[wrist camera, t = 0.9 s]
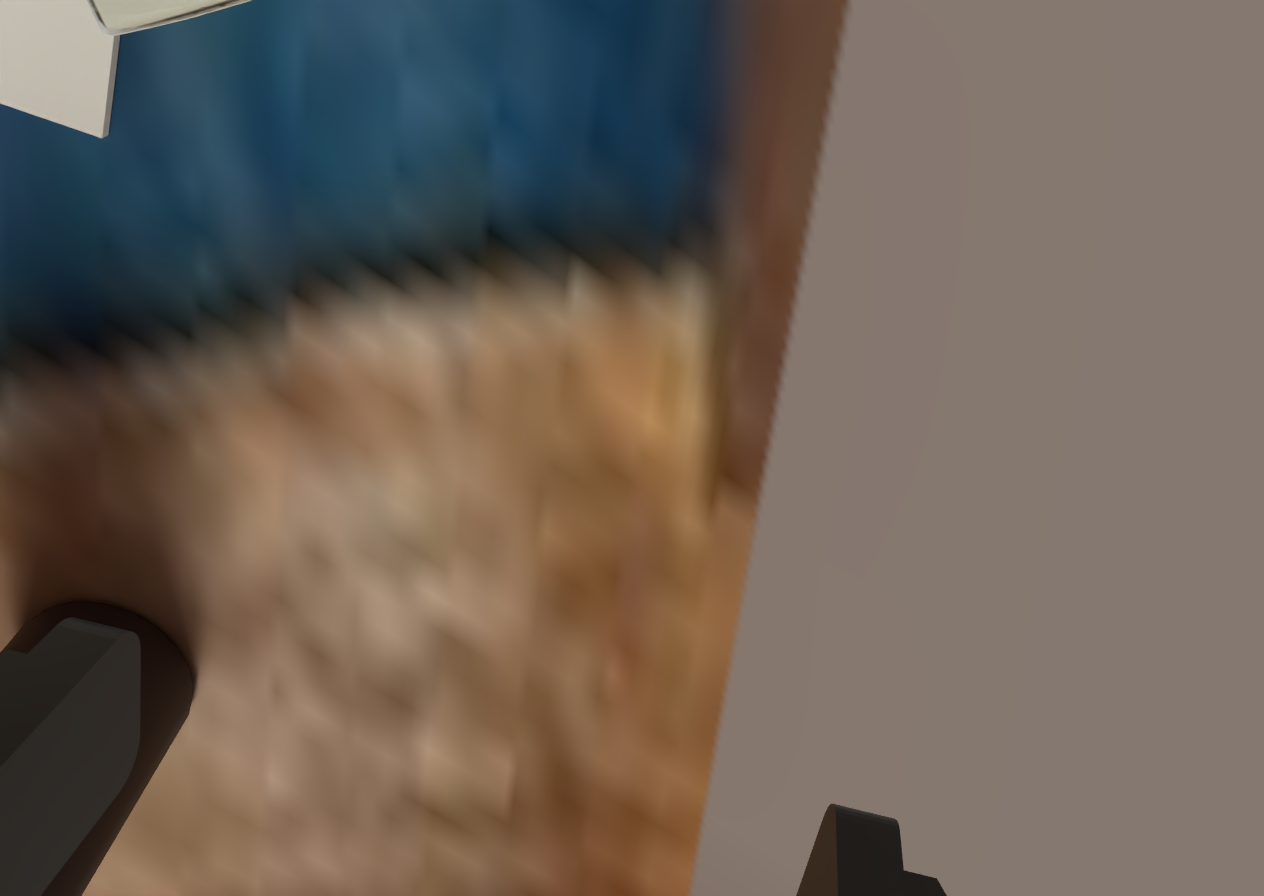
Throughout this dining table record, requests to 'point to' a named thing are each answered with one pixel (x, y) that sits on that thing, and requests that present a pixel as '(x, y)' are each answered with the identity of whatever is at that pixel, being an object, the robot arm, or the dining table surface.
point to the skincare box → (150, 12)
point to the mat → (57, 63)
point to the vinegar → (159, 724)
